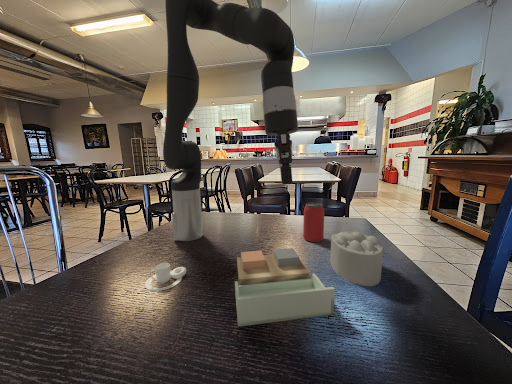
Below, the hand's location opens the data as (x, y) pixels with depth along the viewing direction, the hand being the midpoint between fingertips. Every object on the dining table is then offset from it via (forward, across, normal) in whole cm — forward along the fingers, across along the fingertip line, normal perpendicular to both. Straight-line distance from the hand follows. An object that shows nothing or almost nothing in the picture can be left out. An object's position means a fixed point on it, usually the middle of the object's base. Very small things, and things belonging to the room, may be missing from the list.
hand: (286, 182), depth 51 cm
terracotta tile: (+18, +3, -10) cm, 21 cm away
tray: (+22, +13, -4) cm, 26 cm away
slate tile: (+19, +1, -2) cm, 19 cm away
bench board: (+21, +3, -6) cm, 22 cm away
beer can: (+22, -21, +8) cm, 31 cm away
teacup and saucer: (+20, +7, -28) cm, 35 cm away
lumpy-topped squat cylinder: (+24, -1, +15) cm, 28 cm away
